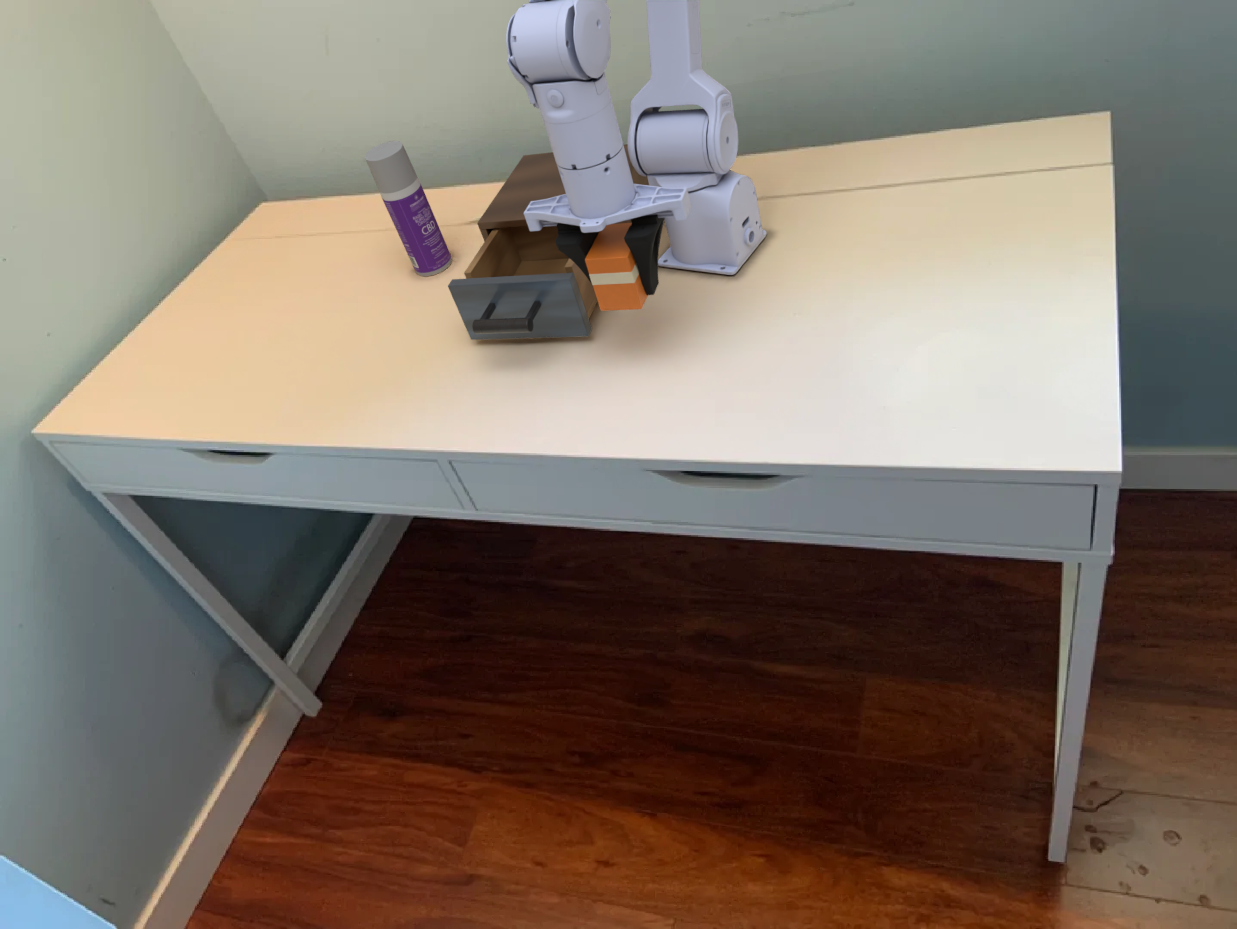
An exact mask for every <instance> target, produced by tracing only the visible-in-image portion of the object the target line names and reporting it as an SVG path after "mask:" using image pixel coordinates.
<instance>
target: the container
mask: <svg viewBox="0 0 1237 929" xmlns="http://www.w3.org/2000/svg"><path fill="white" fill-rule="evenodd" d="M364 159H365V162H366V164H367V166H368V169H369V171H370V174H371V176H372V178H373V181H374V183H375V185H376V187H377V190H378V193H379V195H380V197H381V199H382V201H383V204H384V206H385V208H386V211H387V212H388V215H389V218H390V219H391V222H392V224H393V226H394V228H395V230H396V232H397V234H398V237H399V238H400V240H401V243H402V245H403V247H404V250H405V251H406V255H407V257H408V258H409V260H410V262H411V265H412V267H413V269H414V271H415V273H416V274H417V275H418V276H420V277H432V276H435V275H437V274H440V273H442V272H444V271H445V270H447V269H448V268H449V267H450V266H451V264H452V263H453V257H452V254H451V253H450V250H449V248H448V245H447V243H446V241H445V238H444V236H443V233H442V231H441V228H440V226H439V224H438V221H437V219H436V216H435V214H434V212H433V209H432V206H431V204H430V202H429V200H428V197H427V195H426V192H425V191H424V188H423V186H422V184H421V181H420V178H419V176H418V175H417V173H416V171H415V168H414V166H413V164H412V161H411V159H410V157H409V155H408V153H407V150H406V148H405V146H404V144H403V142H402V141H399V140H390V141H386V142H385V141H384V142H382V143H380V144H378V145H376V146H373V147H372V148H371V149H369V150H368V151H367V152H366V153H365V155H364Z"/></svg>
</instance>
